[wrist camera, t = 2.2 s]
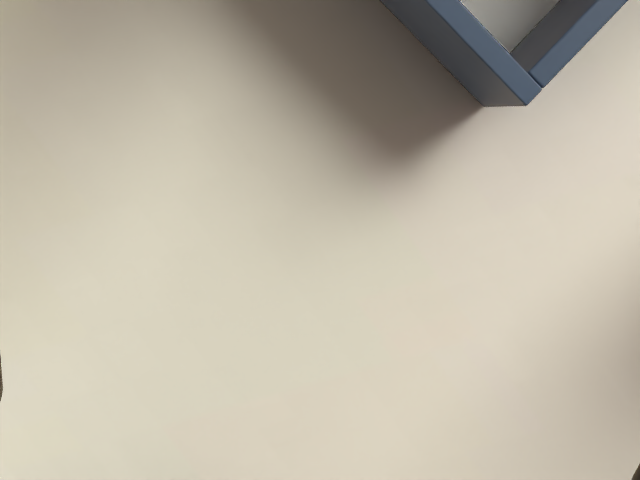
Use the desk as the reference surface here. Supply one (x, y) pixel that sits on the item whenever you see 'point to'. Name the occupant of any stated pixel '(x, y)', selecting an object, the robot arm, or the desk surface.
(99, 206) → the desk surface
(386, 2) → the box
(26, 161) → the desk surface
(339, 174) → the desk surface
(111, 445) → the desk surface
